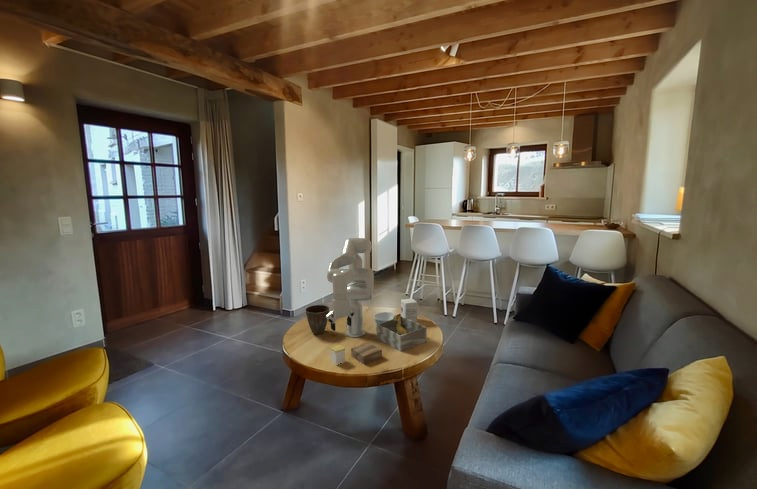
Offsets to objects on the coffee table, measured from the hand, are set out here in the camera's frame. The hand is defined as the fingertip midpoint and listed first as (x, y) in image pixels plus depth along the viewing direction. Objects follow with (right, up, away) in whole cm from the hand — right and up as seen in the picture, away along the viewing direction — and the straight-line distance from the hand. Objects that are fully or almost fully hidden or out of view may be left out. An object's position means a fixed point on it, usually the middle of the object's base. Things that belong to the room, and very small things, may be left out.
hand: (341, 327), depth 178 cm
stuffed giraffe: (+33, -14, +29) cm, 46 cm away
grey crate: (+33, -14, +29) cm, 46 cm away
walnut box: (+13, -18, +8) cm, 24 cm away
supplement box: (+40, -10, +58) cm, 71 cm away
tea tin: (-2, -19, +3) cm, 20 cm away
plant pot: (-19, -13, +41) cm, 47 cm away
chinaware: (+24, -12, +48) cm, 55 cm away
